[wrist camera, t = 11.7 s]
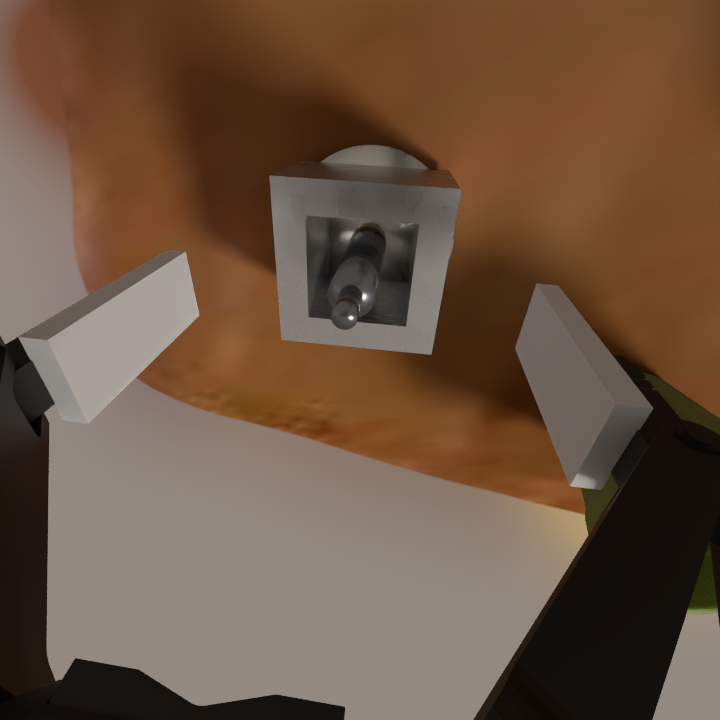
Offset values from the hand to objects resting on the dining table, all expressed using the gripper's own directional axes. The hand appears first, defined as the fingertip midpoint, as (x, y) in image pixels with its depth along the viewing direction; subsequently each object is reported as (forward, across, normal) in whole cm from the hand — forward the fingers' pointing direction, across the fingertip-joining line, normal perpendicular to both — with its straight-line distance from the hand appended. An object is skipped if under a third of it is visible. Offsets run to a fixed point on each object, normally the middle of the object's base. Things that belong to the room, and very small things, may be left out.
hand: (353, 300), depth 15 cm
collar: (+10, 0, 0) cm, 10 cm away
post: (+10, 0, -1) cm, 10 cm away
